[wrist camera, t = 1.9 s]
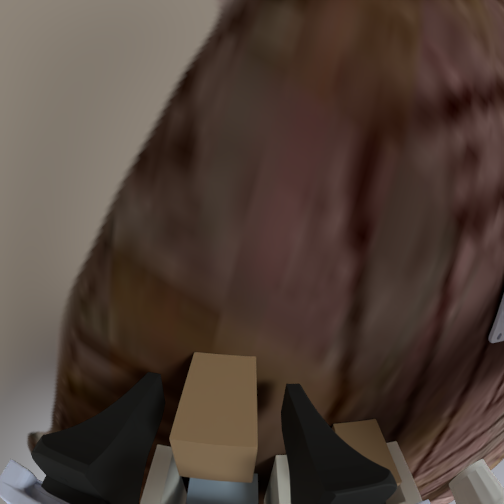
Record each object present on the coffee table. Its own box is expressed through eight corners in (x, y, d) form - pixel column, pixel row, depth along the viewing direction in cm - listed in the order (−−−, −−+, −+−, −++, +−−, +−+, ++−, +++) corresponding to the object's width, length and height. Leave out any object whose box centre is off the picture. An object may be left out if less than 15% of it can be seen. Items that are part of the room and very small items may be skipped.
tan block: (388, 416, 15) (416, 477, 9) (339, 493, 18) (348, 537, 13) (317, 425, 15) (334, 497, 9) (287, 499, 18) (291, 545, 13)
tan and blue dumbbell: (276, 357, 13) (287, 447, 8) (253, 496, 18) (253, 545, 12) (174, 349, 13) (141, 433, 8) (196, 492, 17) (189, 540, 12)
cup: (486, 462, 21) (513, 508, 9) (445, 491, 22) (467, 540, 10) (488, 449, 19) (520, 503, 7) (441, 483, 20) (466, 541, 9)
